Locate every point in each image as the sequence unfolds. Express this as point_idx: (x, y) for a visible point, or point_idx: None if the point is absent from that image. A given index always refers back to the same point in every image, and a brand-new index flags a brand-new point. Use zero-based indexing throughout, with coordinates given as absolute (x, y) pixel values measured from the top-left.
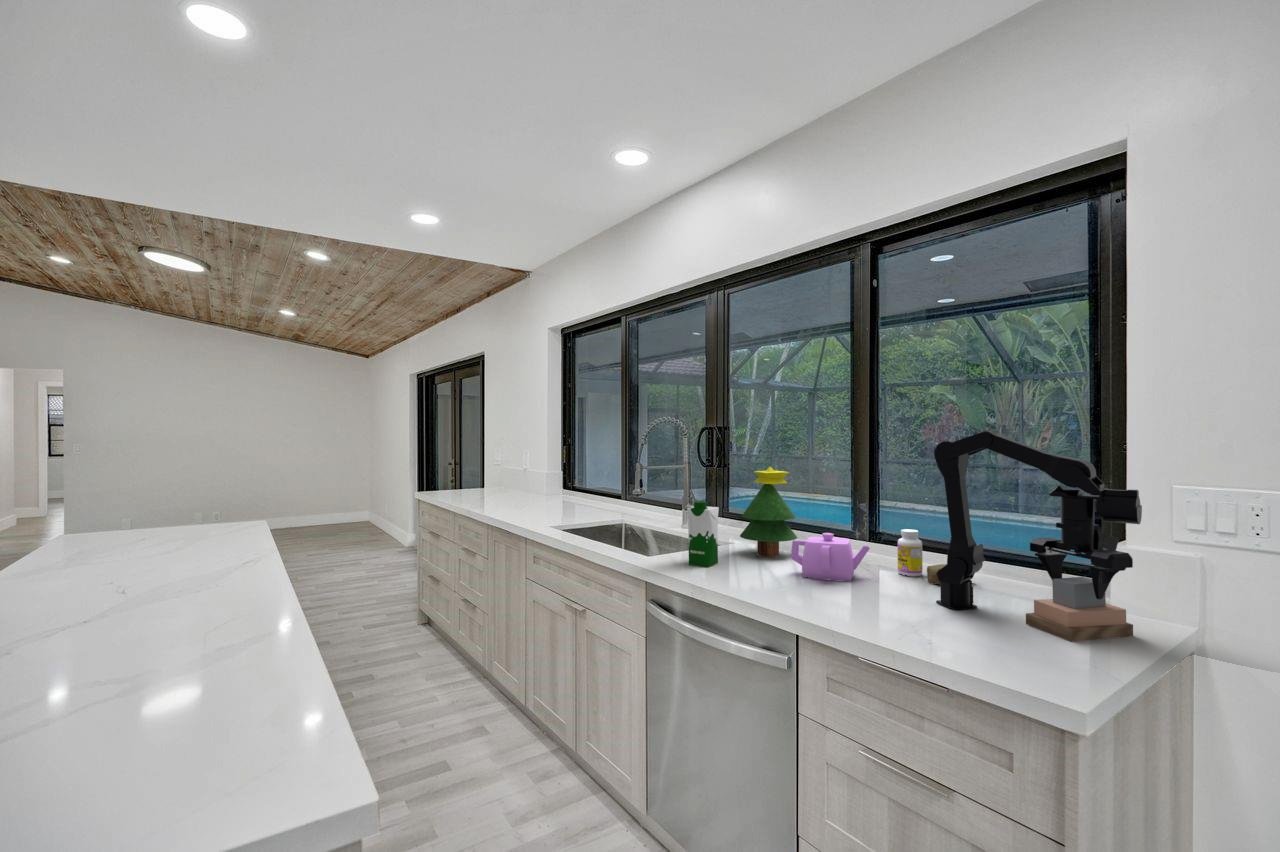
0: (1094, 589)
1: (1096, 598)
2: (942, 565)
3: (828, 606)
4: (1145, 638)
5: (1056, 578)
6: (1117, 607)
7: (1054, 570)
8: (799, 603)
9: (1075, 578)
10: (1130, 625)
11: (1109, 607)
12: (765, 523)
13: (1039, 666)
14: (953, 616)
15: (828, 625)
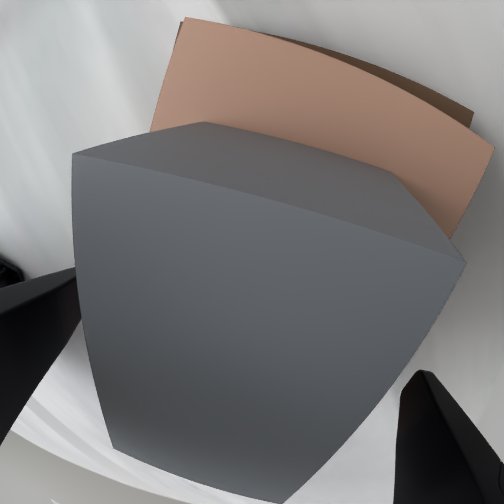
0: (399, 467)
1: (401, 396)
2: None
3: (33, 421)
4: (484, 101)
5: (50, 347)
6: (447, 131)
7: (7, 393)
8: (26, 425)
9: (131, 349)
10: (468, 128)
11: (417, 182)
12: None
13: (345, 486)
14: (71, 369)
15: (105, 475)
